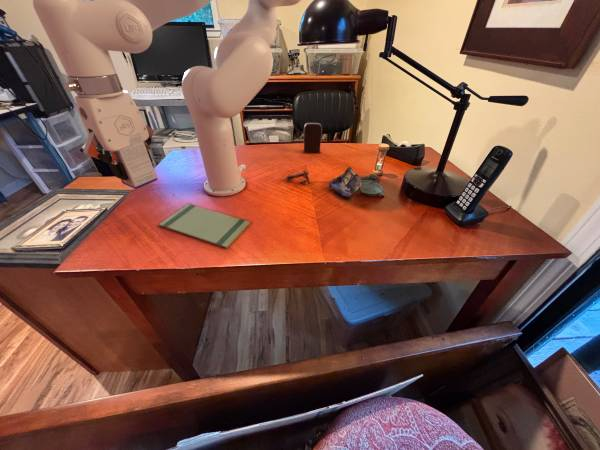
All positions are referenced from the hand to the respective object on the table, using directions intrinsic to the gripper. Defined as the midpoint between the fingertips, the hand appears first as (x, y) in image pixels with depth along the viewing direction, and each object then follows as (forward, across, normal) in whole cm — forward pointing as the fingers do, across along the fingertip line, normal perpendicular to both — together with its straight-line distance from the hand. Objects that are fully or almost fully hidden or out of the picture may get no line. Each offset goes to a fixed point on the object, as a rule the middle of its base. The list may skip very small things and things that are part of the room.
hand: (136, 171), depth 57 cm
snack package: (+12, +33, -45) cm, 57 cm away
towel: (+12, +1, -16) cm, 20 cm away
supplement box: (+3, 0, 0) cm, 3 cm away
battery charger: (+12, +57, -24) cm, 63 cm away
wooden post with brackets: (+12, +31, -29) cm, 44 cm away
